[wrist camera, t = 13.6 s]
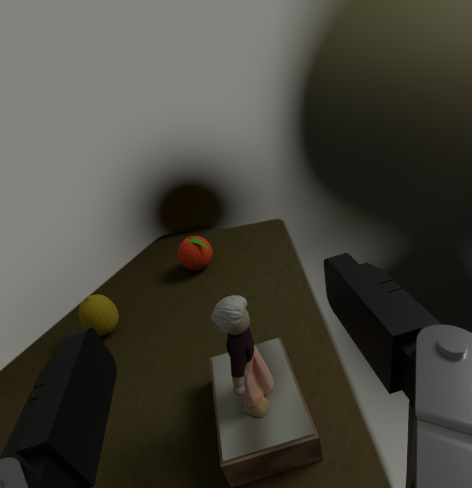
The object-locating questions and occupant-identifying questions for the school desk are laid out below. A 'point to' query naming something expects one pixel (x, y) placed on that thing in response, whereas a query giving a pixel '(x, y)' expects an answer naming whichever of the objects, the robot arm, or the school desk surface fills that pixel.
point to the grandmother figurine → (244, 356)
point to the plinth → (263, 422)
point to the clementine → (195, 253)
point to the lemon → (98, 314)
